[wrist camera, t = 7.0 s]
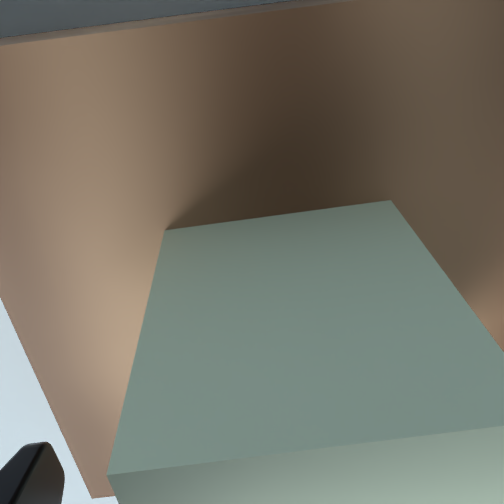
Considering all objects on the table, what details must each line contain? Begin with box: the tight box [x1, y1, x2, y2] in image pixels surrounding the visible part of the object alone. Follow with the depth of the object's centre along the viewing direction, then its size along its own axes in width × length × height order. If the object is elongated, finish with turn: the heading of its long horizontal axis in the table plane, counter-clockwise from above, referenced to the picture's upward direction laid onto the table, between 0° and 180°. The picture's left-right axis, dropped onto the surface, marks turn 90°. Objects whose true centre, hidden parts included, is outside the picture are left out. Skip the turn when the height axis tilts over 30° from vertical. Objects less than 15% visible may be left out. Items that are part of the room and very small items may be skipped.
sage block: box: [107, 200, 504, 504], centre depth 9 cm, size 5×5×6 cm
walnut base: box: [0, 0, 504, 498], centre depth 13 cm, size 13×13×3 cm
